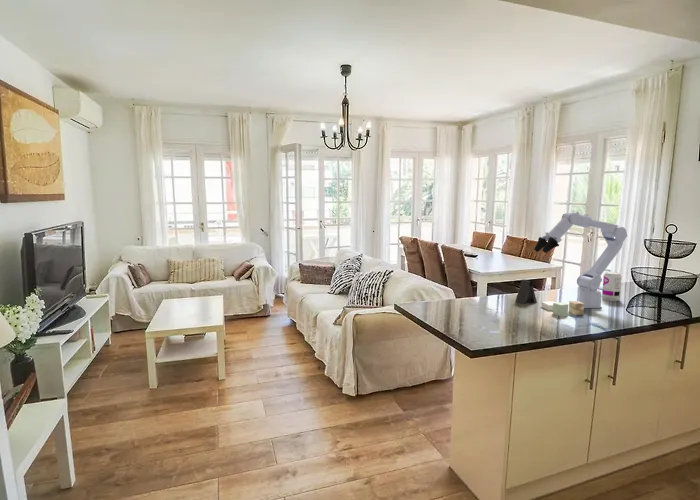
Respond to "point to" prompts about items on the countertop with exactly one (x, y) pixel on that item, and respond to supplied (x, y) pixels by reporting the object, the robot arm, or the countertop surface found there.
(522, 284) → the door stopper
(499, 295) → the countertop surface
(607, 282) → the supplement can
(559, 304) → the sage block
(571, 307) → the beech block
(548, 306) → the pedestal block
